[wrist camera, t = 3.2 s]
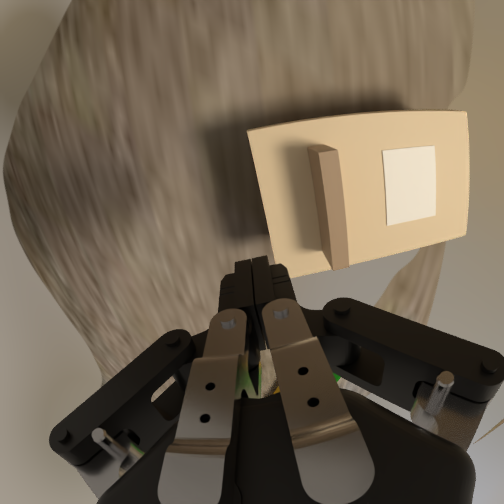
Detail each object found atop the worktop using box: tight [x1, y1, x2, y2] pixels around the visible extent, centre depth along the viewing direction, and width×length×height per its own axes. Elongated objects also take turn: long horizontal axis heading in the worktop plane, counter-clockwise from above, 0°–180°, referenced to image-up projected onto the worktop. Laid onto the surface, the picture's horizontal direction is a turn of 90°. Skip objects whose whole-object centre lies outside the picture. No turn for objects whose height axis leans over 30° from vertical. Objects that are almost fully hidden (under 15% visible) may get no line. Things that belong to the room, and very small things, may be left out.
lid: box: [246, 109, 470, 278], centre depth 20 cm, size 12×19×5 cm, turn 102°
